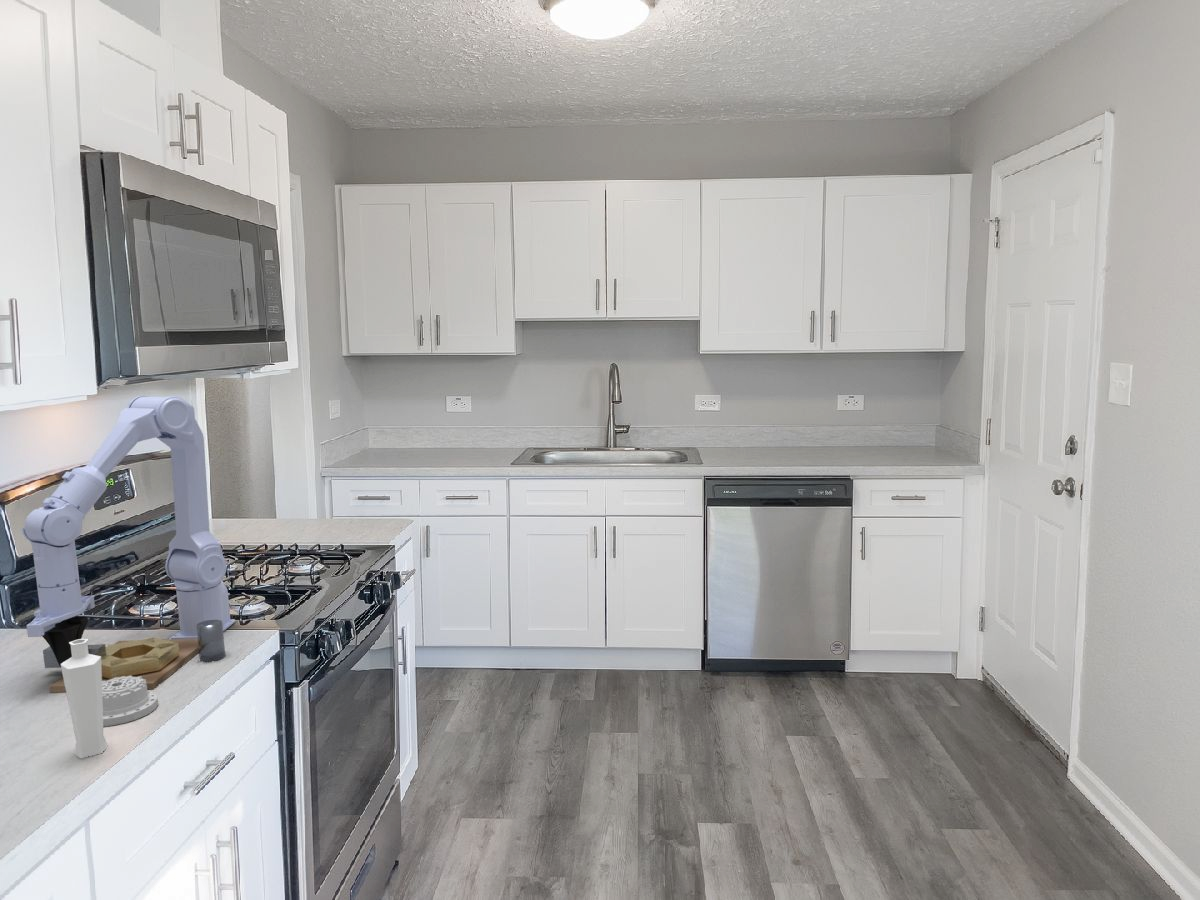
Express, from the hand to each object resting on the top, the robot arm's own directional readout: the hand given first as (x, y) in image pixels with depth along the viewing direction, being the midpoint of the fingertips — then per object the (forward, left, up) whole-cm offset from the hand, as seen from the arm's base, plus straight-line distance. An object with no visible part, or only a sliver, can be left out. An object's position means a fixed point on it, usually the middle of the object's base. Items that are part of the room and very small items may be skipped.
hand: (68, 665), depth 142 cm
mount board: (-5, +8, -2) cm, 10 cm away
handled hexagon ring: (-3, +5, -1) cm, 6 cm away
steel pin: (-8, +19, -2) cm, 21 cm away
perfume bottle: (+25, +18, -3) cm, 31 cm away
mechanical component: (+13, +15, -3) cm, 20 cm away
